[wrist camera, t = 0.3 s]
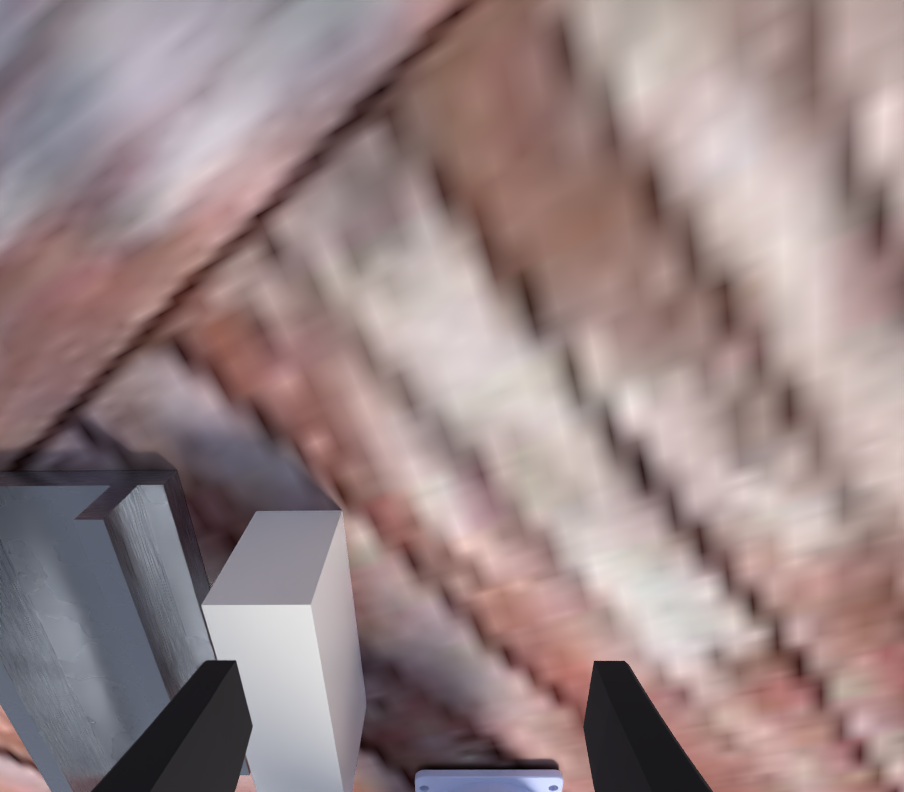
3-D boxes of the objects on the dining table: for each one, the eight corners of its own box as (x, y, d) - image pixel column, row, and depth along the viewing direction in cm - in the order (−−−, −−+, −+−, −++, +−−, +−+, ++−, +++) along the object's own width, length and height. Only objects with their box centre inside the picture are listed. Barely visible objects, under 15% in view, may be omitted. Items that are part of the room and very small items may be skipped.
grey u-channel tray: (256, 754, 27) (234, 820, 24) (90, 754, 27) (49, 821, 24) (176, 470, 19) (131, 519, 17) (-53, 472, 19) (-135, 521, 17)
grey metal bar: (367, 700, 25) (347, 817, 21) (298, 700, 25) (264, 816, 21) (343, 507, 20) (310, 604, 16) (257, 508, 20) (201, 605, 16)
